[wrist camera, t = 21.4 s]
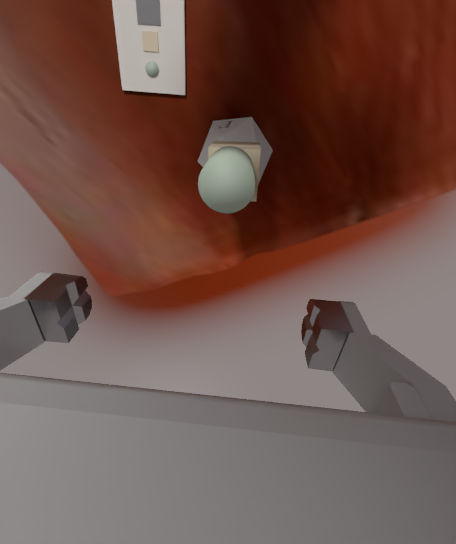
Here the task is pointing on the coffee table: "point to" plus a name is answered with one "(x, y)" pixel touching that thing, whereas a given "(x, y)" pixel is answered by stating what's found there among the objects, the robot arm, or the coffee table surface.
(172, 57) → the plan card
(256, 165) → the birch block
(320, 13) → the coffee table surface
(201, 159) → the die
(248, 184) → the pale green rounded lump
